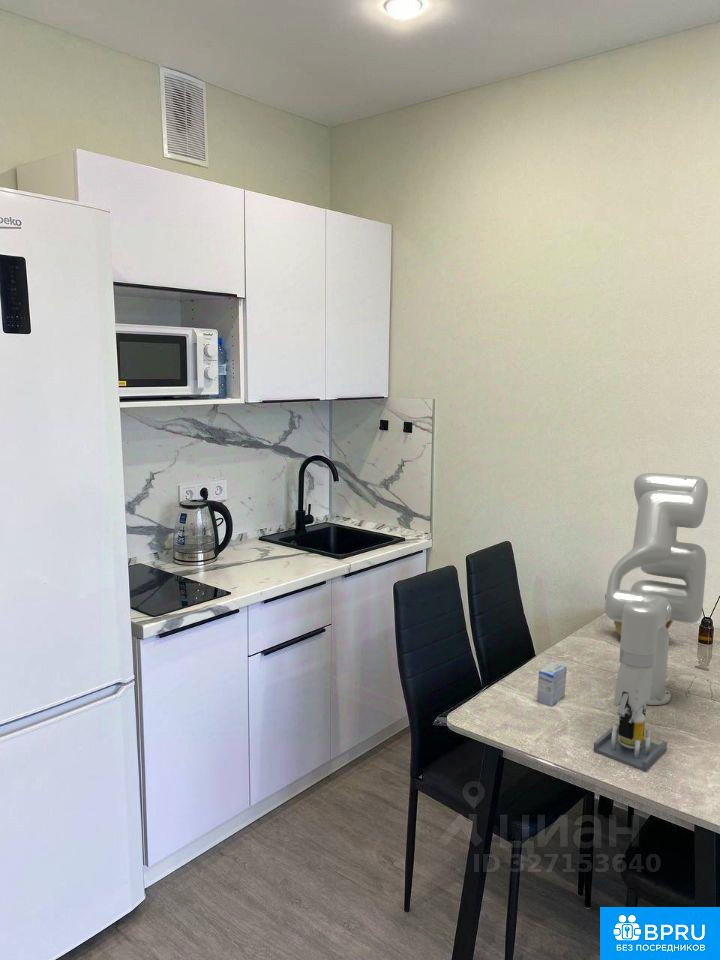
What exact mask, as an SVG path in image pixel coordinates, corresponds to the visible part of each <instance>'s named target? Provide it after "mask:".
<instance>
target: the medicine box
mask: <svg viewBox="0 0 720 960" xmlns="http://www.w3.org/2000/svg"><path fill="white" fill-rule="evenodd" d="M567 669H568V668H567V666H566V665H564V664H560V663H556V662H553V661H552V662H550V663H548V664H547V665H546V666H544V667H543V668H541V670H538V679H537V696H536V697H537V702H538V703H540V704H544V705H547V706H549V707H553V706H554V705H556V704H557V702H558V701H560V700H561V699H563V697H565V692H566V681H567Z"/></svg>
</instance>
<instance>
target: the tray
mask: <svg viewBox="0 0 720 960" xmlns="http://www.w3.org/2000/svg"><path fill="white" fill-rule="evenodd" d="M651 734H652V731H651V730H645V738H644V739H643V746H642V747H641V748H640V741H639V740H635V749H631V748H627V747H625V746H623V745H621V744H620V743H619V741H618V736H619V723H616V724H612V727H611V728H610V729H608V731H605V733H604V734H603V735H601V736H600V737H598V739H596V740H595V741H594V742H593V750H592V751H593V753H597V754H599V755H602V756H604V757H607V758H609V759H611V760H613V761H617V762H620V763H622V764H624V765H627V766H629V767H632V768H634V769H637V770H639V771H642V772H645V773H646V772H647V771H648V770H649V769H650V768H651V767H652V766H653V765H654V764H655V763H656V762H657V761H658V760H659V759H660V758H661V757H662V756H663V755H664V754H665V753H666V752H667V751H668V750H667V749H668V742H667V741H664V740H663V741H662V742H661V743H660V744H657V743H655V742H651Z"/></svg>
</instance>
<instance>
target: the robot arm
mask: <svg viewBox="0 0 720 960" xmlns="http://www.w3.org/2000/svg"><path fill="white" fill-rule="evenodd" d="M708 487H709V486H708V483H707V481H706V480H705V478H703V477H700V476H696V475H684V474H672V473H659V472H652V473H651V472H646V473H641V474H639V475H637V476H636V477H635V479H634V482H633V490H634V491H633V492H634V496H635V500H636V502H637V506H638V508H637V515H636V521H635V523H636V524H635V531H634V536H633V544H632V548H631V549H630V551H629V552H628V553H626V554H625V555H623V557H621V558H620V559H619V560H618V561H617V562H616V563H615V565H614V566H613V568H612V570H611V572H610V574H609V576H608V581H607V588H606V593H605V595H606V599H605V598H604V602H605V603H604V610H605V611H604V612H605V615H606V616H607V618H608V619H610V620H611V621H613V622H614V621H618V622H622V628H621V635H620V642H619V643H620V645H619V657H618V662H619V663H620V665H619V666H618V667H619V668H618V672H617V677H616V683H615V689H614V690H615V692H614V696H613V697H614V699H613V704H614V706H615V707H618V709H617V712H616V713H617V715H618V720H619V723H618V725H619V735H620V736H623V737H625V738H628V739H631V740H632V739H633V736H634V722H633V718H634V713H635V711H636V710H637V709H639V708H640V707H641V706H642V705H643V712H642V713H643V714H644V715H645V716H646V712H647V705H650V706H661V705H666V704H668V703H669V702H670V701H671V697H672V694H671V692H670V691H669V690H668V689H667V688H666V684H667V683H666V680H667V678H668V674H667V669H668V658H669V657H668V656H669V645H670V633H669V630H668V629H667V628H666V626H665V624H666V623H667V622H669V621H670V620H673V622H678V623H679V622H680V623H687V624H695V623H697V622H698V621H700V619H701V616H702V613H703V607H704V598H705V597H704V596H705V584H706V572H707V571H706V570H707V555H706V552H705V550H704V548H703V547H702V546H701V545H698V544H696V543H691V542H690V543H689V542H682V541H681V542H680V541H678V540H677V535H678V528H684V529H686V528H687V529H697V528H699V527H700V526H701V525H702V523H703V522H704V521H703V520H704V517H705V514H706V507H707V501H708V494H709V488H708ZM638 568H640V570H641V571H642V572H643V573H645V574H646V575H652V576H657V577H662V578H670V579H678V580H682V581H684V583H685V584H682V583H681V584H678V583H671V582H667V581H666V582H665V581H658V580H652V579H650V580H649V579H642V580H638V581H636V582H634V583H633V584H632V586H631V588H630V590H626V589H621V584H622V581H623V579H624V578H625V576H626V575H628V574H629V573H630V572H631V571H634V570H635V569H638ZM627 705H630V706H631V708H629V707H627ZM626 710H628V711H630V716H629V715H628V714H627V713H626Z"/></svg>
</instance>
